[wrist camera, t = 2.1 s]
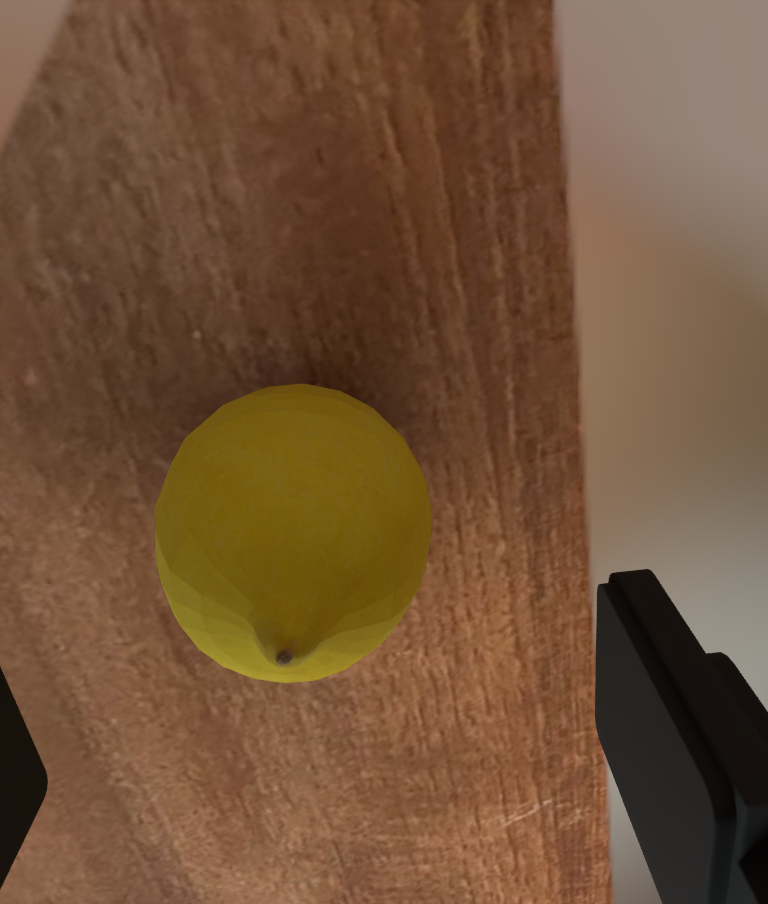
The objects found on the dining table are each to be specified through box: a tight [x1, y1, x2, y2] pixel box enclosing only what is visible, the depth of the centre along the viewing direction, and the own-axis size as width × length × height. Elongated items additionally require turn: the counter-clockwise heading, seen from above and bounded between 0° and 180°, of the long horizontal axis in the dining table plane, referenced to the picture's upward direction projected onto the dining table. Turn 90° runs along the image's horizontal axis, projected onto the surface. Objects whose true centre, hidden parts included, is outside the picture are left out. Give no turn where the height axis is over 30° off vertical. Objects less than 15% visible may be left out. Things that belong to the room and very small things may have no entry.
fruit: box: [155, 384, 432, 683], centre depth 14 cm, size 6×6×8 cm
